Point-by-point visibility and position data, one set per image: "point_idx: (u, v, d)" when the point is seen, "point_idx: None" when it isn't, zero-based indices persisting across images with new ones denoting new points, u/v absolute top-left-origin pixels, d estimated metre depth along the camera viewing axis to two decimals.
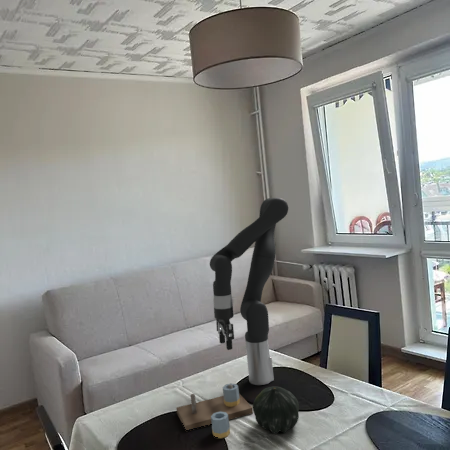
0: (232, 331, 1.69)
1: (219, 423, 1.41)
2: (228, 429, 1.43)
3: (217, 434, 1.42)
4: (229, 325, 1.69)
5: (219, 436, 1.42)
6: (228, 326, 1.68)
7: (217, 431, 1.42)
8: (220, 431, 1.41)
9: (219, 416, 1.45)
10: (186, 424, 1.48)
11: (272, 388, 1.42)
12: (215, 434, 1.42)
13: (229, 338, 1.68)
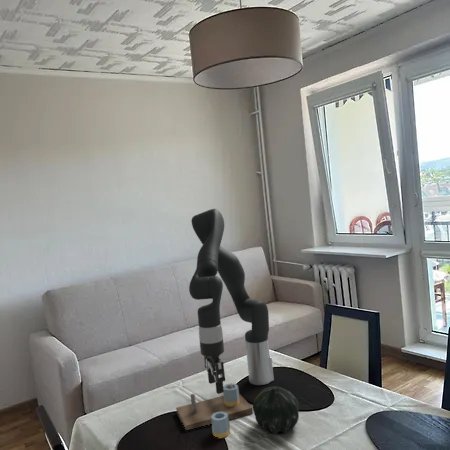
0: (222, 371, 1.36)
1: (219, 423, 1.41)
2: (228, 429, 1.43)
3: (217, 434, 1.42)
4: (219, 363, 1.36)
5: (219, 436, 1.42)
6: (217, 365, 1.36)
7: (217, 431, 1.42)
8: (220, 431, 1.41)
9: (219, 416, 1.45)
10: (186, 424, 1.48)
11: (272, 388, 1.42)
12: (215, 434, 1.42)
13: (219, 380, 1.36)
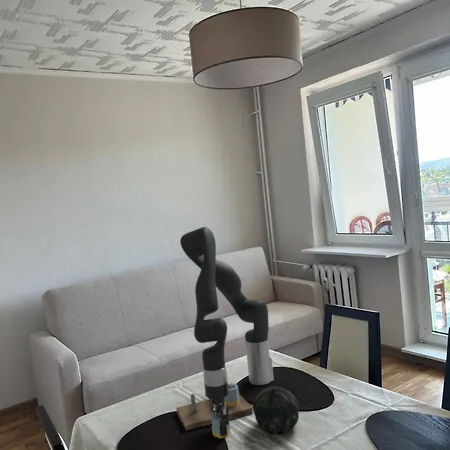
0: (227, 417, 1.38)
1: None
2: (228, 429, 1.43)
3: (217, 434, 1.42)
4: (224, 410, 1.37)
5: (219, 436, 1.42)
6: (222, 412, 1.37)
7: (217, 431, 1.42)
8: None
9: None
10: (186, 424, 1.48)
11: (272, 388, 1.42)
12: (215, 434, 1.42)
13: (223, 424, 1.38)
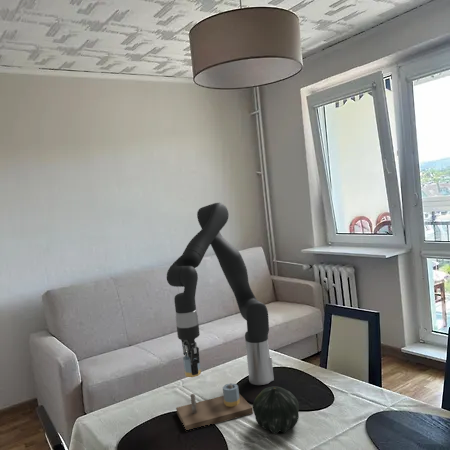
0: (197, 355, 1.47)
1: None
2: (199, 369, 1.53)
3: (189, 373, 1.51)
4: (194, 349, 1.47)
5: (190, 375, 1.51)
6: (193, 350, 1.46)
7: (189, 370, 1.51)
8: None
9: None
10: (186, 424, 1.48)
11: (272, 388, 1.42)
12: (187, 374, 1.52)
13: (193, 362, 1.48)
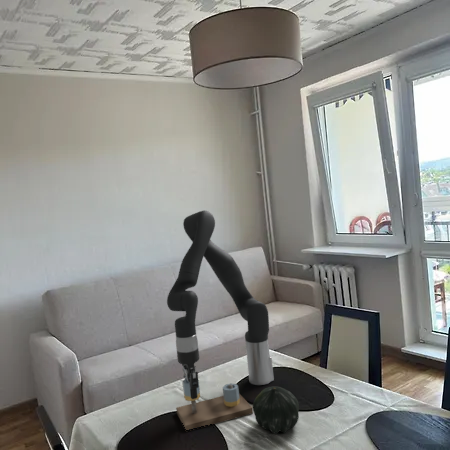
0: (196, 380, 1.49)
1: None
2: (198, 393, 1.54)
3: (188, 397, 1.53)
4: (194, 374, 1.48)
5: (190, 399, 1.53)
6: (192, 375, 1.48)
7: (188, 394, 1.53)
8: (190, 394, 1.52)
9: None
10: (186, 424, 1.48)
11: (272, 388, 1.42)
12: (186, 397, 1.53)
13: (192, 387, 1.49)
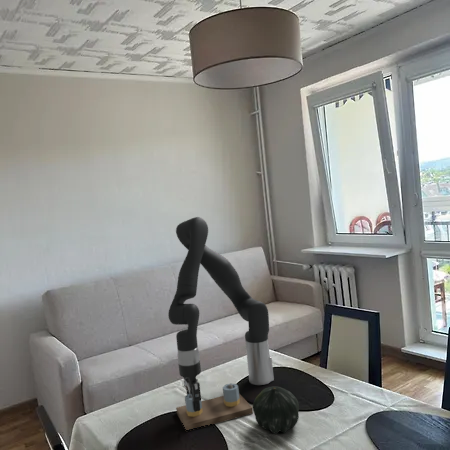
0: (198, 391, 1.49)
1: (192, 402, 1.53)
2: (201, 408, 1.55)
3: (190, 413, 1.53)
4: (195, 384, 1.48)
5: (192, 414, 1.53)
6: (194, 386, 1.48)
7: (190, 409, 1.53)
8: (193, 410, 1.53)
9: None
10: (186, 424, 1.48)
11: (272, 388, 1.42)
12: (188, 413, 1.54)
13: (195, 399, 1.48)
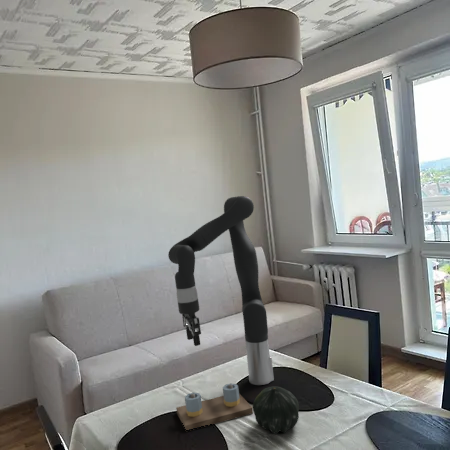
0: (198, 325, 1.57)
1: (192, 402, 1.53)
2: (201, 408, 1.55)
3: (190, 413, 1.53)
4: (195, 319, 1.56)
5: (192, 414, 1.53)
6: (193, 320, 1.56)
7: (190, 409, 1.53)
8: (193, 410, 1.53)
9: None
10: (186, 424, 1.48)
11: (272, 388, 1.42)
12: (188, 413, 1.54)
13: (195, 333, 1.56)
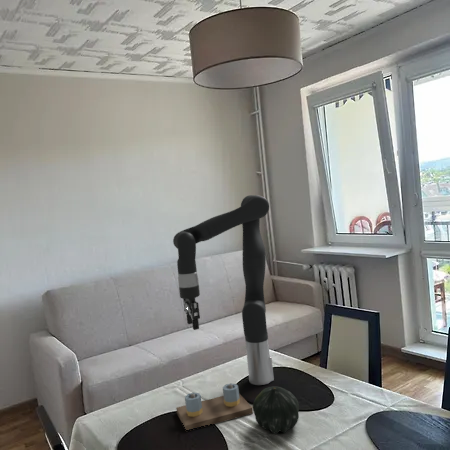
0: (197, 310, 1.62)
1: (192, 402, 1.53)
2: (201, 408, 1.55)
3: (190, 413, 1.53)
4: (194, 303, 1.62)
5: (192, 414, 1.53)
6: (193, 305, 1.62)
7: (190, 409, 1.53)
8: (193, 410, 1.53)
9: None
10: (186, 424, 1.48)
11: (272, 388, 1.42)
12: (188, 413, 1.54)
13: (194, 317, 1.62)
